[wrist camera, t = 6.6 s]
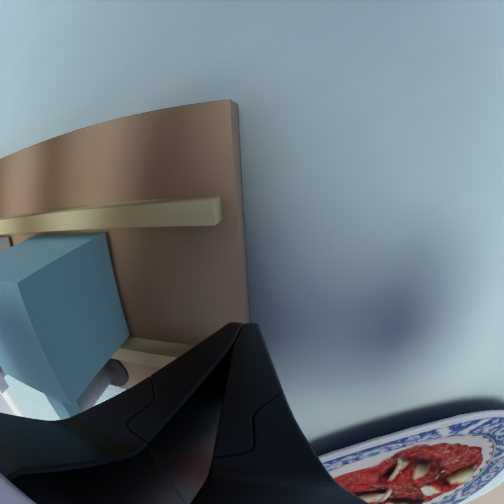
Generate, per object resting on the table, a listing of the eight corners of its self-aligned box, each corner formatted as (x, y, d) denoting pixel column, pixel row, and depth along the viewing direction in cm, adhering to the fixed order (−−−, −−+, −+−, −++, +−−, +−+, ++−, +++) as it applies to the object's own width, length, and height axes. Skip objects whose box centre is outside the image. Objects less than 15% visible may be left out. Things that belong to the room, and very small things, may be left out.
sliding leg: (105, 232, 11) (16, 283, 6) (149, 392, 14) (109, 461, 9) (35, 235, 12) (-39, 273, 7) (82, 374, 15) (39, 427, 10)
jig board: (237, 104, 10) (222, 94, 8) (254, 393, 15) (247, 424, 13) (-21, 172, 13) (-43, 178, 11) (25, 343, 18) (9, 357, 16)
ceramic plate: (456, 325, 12) (480, 361, 9) (534, 433, 14) (543, 451, 12) (198, 483, 21) (190, 507, 18) (361, 529, 24) (361, 546, 21)
